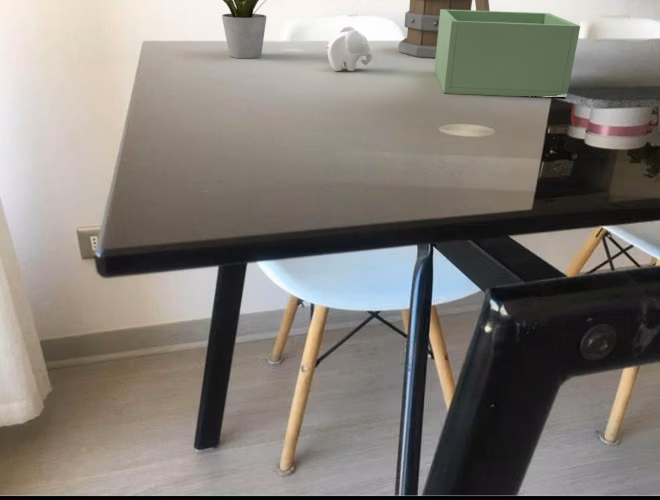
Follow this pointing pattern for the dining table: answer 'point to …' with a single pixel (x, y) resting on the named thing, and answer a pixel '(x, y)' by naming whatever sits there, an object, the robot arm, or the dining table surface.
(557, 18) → the bin
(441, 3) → the tankard
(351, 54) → the elephant figurine
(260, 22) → the house plant
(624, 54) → the dining table surface
